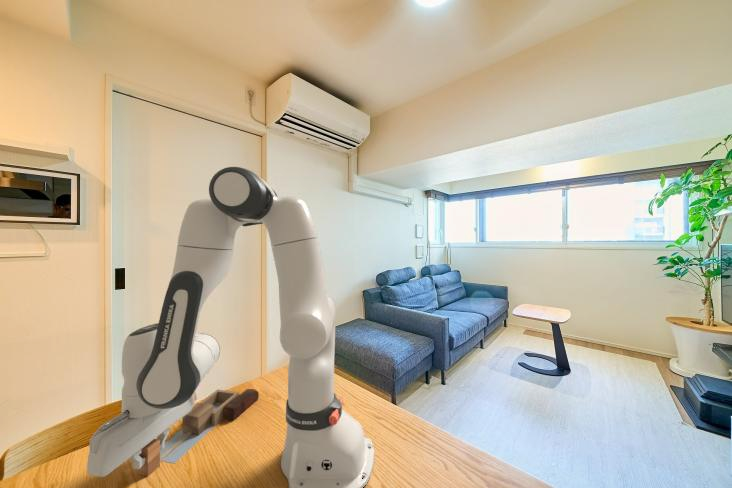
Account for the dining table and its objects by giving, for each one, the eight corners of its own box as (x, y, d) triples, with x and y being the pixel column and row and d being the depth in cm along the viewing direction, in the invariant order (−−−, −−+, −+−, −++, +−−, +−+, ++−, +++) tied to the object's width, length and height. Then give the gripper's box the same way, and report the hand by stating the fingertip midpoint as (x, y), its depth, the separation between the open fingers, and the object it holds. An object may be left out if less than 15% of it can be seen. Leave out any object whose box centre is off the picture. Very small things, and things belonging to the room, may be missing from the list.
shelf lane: (239, 406, 79) (239, 392, 79) (174, 467, 58) (174, 448, 58) (217, 403, 81) (217, 389, 81) (146, 461, 59) (146, 443, 59)
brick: (233, 425, 71) (233, 409, 71) (222, 422, 72) (222, 406, 72) (259, 402, 82) (259, 388, 81) (248, 400, 83) (249, 386, 83)
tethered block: (213, 422, 71) (213, 401, 71) (152, 477, 54) (152, 449, 54) (198, 419, 72) (198, 399, 72) (134, 473, 55) (134, 446, 55)
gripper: (103, 434, 45) (104, 509, 45) (198, 375, 65) (199, 427, 65) (77, 429, 46) (77, 503, 46) (178, 372, 66) (178, 424, 67)
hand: (149, 458), depth 56 cm, fingers closed on tethered block, 3 cm apart
